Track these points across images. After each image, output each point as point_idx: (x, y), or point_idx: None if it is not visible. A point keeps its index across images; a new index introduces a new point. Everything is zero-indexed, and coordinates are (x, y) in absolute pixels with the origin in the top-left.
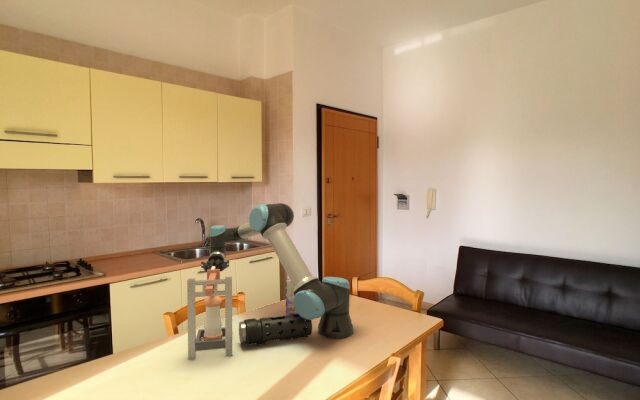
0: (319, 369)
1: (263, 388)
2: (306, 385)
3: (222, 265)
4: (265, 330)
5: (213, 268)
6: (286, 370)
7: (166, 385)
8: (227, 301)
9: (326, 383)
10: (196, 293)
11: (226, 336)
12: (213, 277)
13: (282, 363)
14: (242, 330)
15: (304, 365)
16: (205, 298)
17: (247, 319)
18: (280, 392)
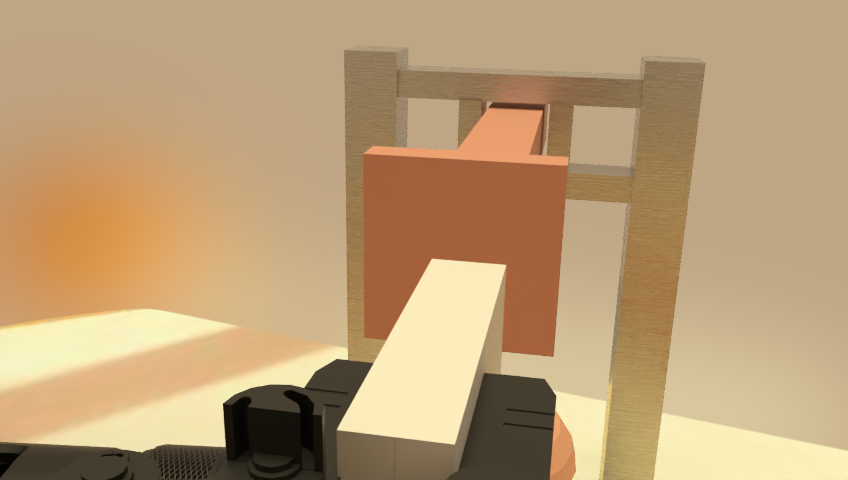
0: (66, 377)
1: (320, 360)
2: (183, 340)
3: (59, 472)
4: None
5: (436, 302)
6: (182, 401)
7: (683, 450)
8: None
9: (119, 333)
10: (616, 167)
11: None
12: (479, 148)
13: (161, 436)
14: None
15: (91, 405)
16: (556, 427)
17: (195, 474)
18: (279, 340)
